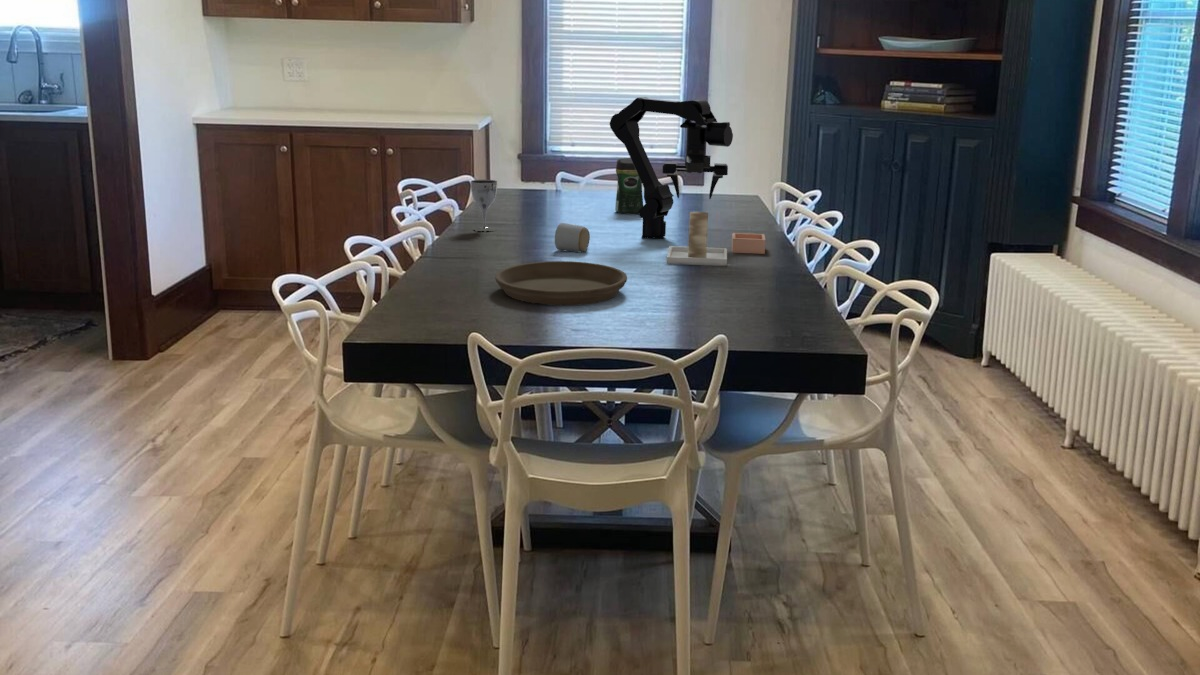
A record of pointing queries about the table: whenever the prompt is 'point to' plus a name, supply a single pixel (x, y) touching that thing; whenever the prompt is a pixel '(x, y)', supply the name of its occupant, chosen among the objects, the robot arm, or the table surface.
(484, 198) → the wine glass
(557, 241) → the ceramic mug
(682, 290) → the table surface
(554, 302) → the plant saucer
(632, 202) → the coffee jar
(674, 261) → the grey tray
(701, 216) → the beech cylinder
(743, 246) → the cup holder
